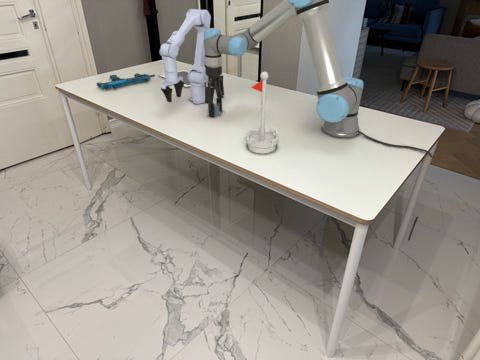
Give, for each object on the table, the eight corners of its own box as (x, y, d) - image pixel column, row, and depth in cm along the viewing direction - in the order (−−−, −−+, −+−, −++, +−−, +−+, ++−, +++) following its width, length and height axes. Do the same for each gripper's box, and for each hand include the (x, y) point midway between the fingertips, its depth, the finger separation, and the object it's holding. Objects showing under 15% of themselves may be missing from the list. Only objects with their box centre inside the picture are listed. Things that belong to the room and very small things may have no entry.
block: (220, 112, 168) (219, 103, 165) (219, 115, 165) (219, 106, 162) (211, 112, 168) (211, 103, 165) (211, 115, 165) (210, 106, 162)
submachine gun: (140, 68, 226) (159, 74, 209) (142, 73, 228) (160, 80, 211) (89, 77, 207) (104, 85, 190) (90, 84, 209) (106, 92, 192)
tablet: (159, 75, 221) (159, 75, 220) (185, 70, 232) (185, 69, 231) (186, 87, 200) (186, 86, 200) (213, 80, 211) (213, 80, 211)
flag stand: (269, 137, 144) (273, 65, 127) (283, 151, 134) (289, 74, 117) (240, 142, 140) (240, 68, 123) (253, 157, 130) (255, 78, 113)
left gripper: (173, 66, 164) (176, 93, 172) (154, 73, 153) (158, 102, 161) (185, 68, 162) (187, 95, 169) (166, 75, 151) (170, 105, 158)
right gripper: (217, 59, 162) (219, 105, 175) (194, 70, 148) (198, 119, 160) (231, 61, 160) (231, 108, 172) (209, 72, 145) (211, 122, 157)
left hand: (174, 99), depth 165 cm, fingers open, 7 cm apart
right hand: (215, 113), depth 166 cm, fingers open, 7 cm apart
